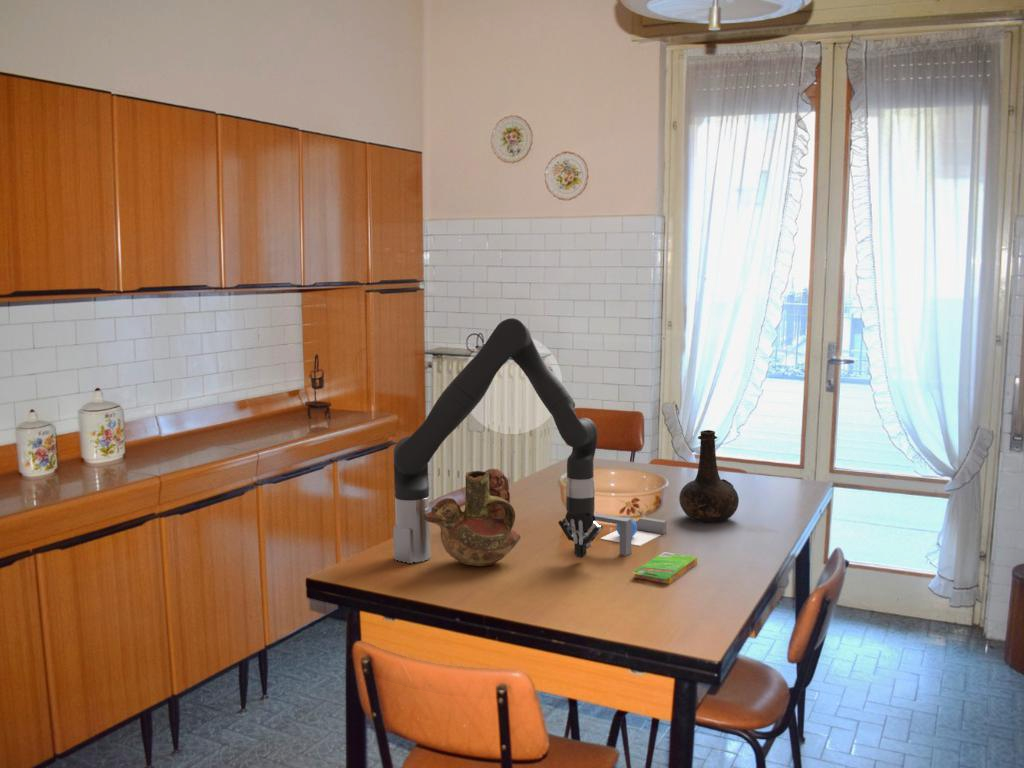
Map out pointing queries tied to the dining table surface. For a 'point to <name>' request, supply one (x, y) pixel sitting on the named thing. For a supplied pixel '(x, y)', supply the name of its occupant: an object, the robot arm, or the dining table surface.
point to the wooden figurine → (498, 491)
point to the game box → (665, 567)
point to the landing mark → (633, 537)
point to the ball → (633, 527)
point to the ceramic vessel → (475, 524)
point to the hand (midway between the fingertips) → (580, 556)
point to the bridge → (624, 531)
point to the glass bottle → (708, 488)
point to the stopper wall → (651, 525)
